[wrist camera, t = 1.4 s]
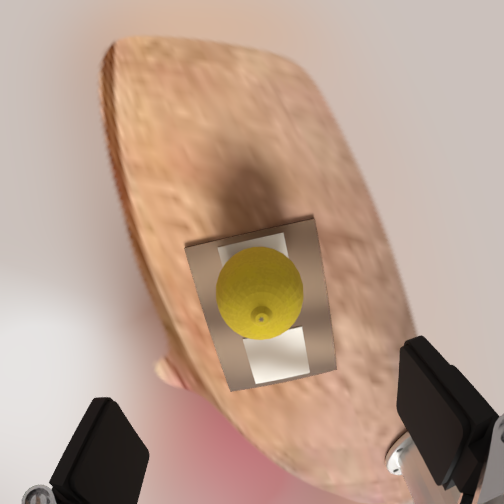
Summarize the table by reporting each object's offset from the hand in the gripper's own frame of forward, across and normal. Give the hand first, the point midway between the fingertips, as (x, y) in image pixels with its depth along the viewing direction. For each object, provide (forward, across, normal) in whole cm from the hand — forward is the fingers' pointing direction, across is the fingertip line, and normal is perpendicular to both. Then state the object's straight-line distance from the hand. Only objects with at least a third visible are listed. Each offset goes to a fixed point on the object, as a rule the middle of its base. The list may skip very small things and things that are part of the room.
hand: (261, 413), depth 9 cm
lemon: (+15, 0, +1) cm, 15 cm away
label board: (+16, 0, +5) cm, 16 cm away
